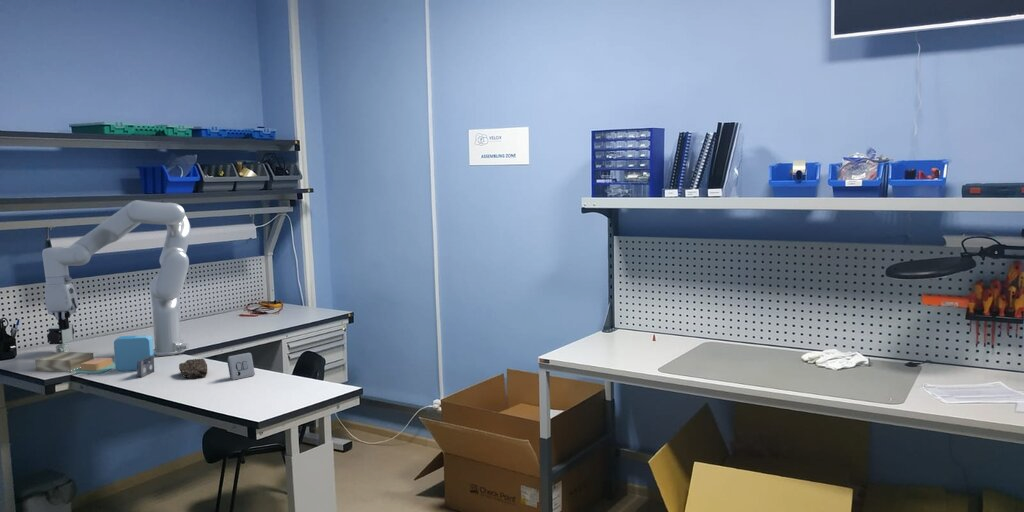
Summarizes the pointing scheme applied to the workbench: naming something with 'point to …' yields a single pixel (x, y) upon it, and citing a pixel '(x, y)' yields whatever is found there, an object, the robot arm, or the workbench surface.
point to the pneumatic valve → (60, 337)
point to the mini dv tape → (145, 366)
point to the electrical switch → (240, 366)
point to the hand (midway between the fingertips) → (64, 329)
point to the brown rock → (194, 368)
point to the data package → (132, 351)
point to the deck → (62, 361)
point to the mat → (96, 370)
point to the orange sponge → (96, 364)
